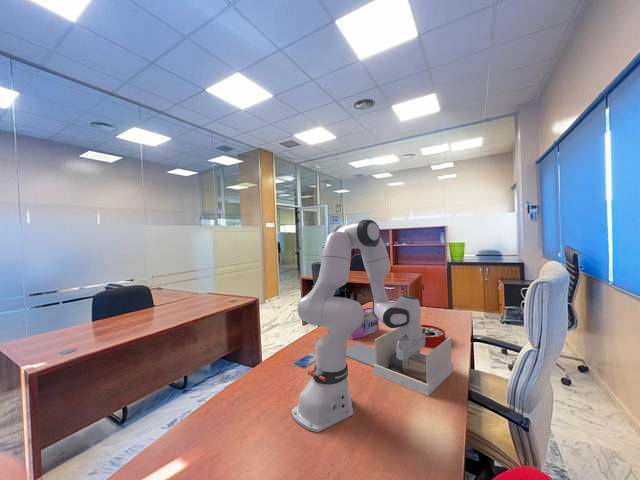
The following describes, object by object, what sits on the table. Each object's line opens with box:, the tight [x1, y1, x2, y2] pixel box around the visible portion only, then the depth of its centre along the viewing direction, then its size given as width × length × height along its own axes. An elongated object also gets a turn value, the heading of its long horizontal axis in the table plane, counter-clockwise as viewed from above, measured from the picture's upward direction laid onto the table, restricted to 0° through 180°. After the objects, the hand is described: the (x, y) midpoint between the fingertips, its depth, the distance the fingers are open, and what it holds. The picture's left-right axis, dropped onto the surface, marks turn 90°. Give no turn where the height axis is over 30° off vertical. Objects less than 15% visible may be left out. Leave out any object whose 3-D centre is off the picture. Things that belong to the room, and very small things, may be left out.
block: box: [390, 353, 427, 382], centre depth 116 cm, size 6×18×6 cm, turn 44°
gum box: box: [349, 307, 380, 340], centre depth 164 cm, size 24×8×14 cm, turn 125°
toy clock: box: [421, 324, 446, 349], centre depth 151 cm, size 20×6×20 cm
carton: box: [373, 327, 454, 397], centre depth 116 cm, size 25×24×15 cm
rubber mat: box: [346, 342, 375, 368], centre depth 134 cm, size 16×24×1 cm, turn 44°
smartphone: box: [292, 352, 316, 369], centre depth 131 cm, size 7×1×15 cm
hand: (411, 363), depth 117 cm, fingers open, 8 cm apart
